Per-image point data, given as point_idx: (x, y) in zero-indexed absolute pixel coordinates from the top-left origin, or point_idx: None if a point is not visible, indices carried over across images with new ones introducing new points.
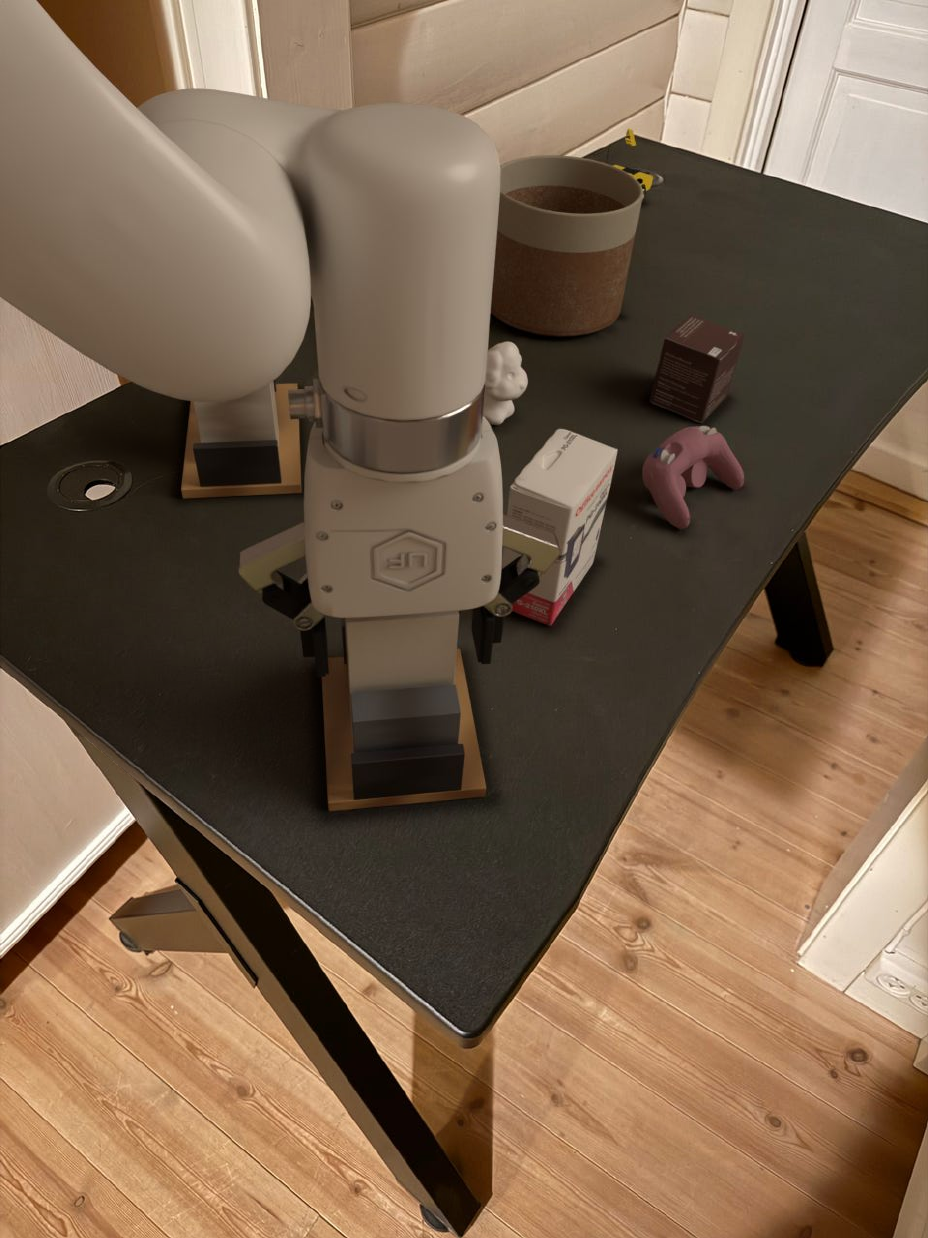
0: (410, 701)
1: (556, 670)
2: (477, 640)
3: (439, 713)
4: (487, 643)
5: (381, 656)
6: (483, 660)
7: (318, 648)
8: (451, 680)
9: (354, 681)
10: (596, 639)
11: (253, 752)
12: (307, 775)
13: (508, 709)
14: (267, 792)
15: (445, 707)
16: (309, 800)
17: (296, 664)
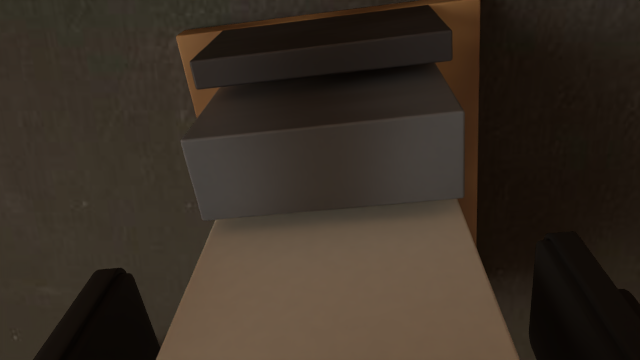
0: (311, 173)
1: (94, 271)
2: (121, 335)
3: (234, 138)
4: (70, 328)
5: (391, 290)
6: (108, 278)
7: (621, 318)
8: (216, 232)
9: (455, 226)
10: (41, 321)
11: (602, 120)
12: (508, 73)
13: (162, 204)
14: (586, 36)
15: (221, 156)
16: (508, 19)
17: (511, 283)
